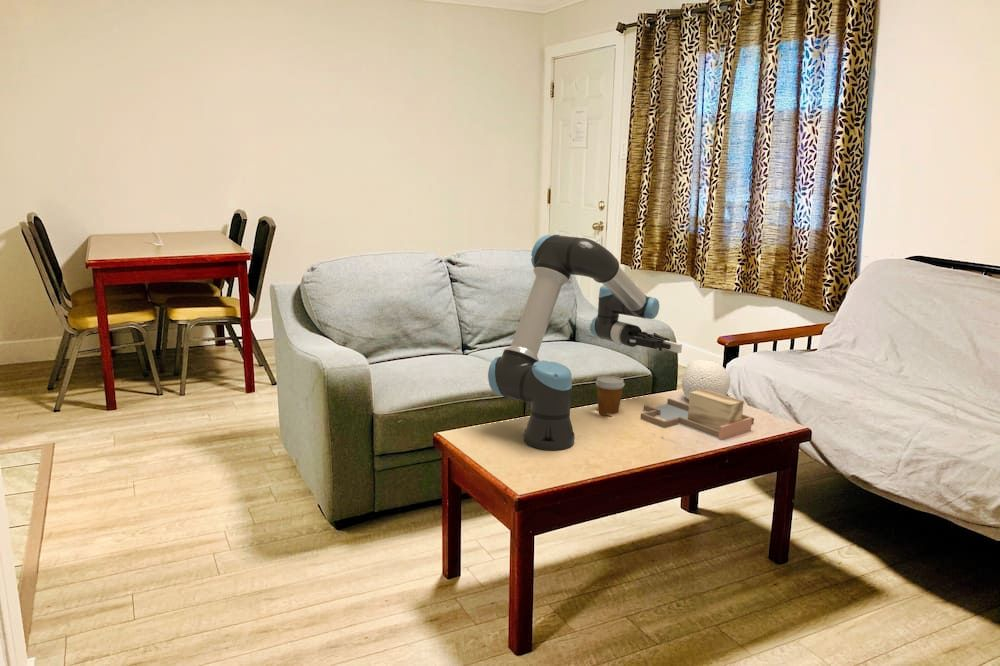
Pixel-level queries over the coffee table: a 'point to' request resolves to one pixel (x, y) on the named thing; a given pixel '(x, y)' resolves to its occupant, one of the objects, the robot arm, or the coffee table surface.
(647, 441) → the coffee table surface
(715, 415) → the maple block
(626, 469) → the coffee table surface
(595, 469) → the coffee table surface
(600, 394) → the disposable coffee cup
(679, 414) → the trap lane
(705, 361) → the decorative orb
